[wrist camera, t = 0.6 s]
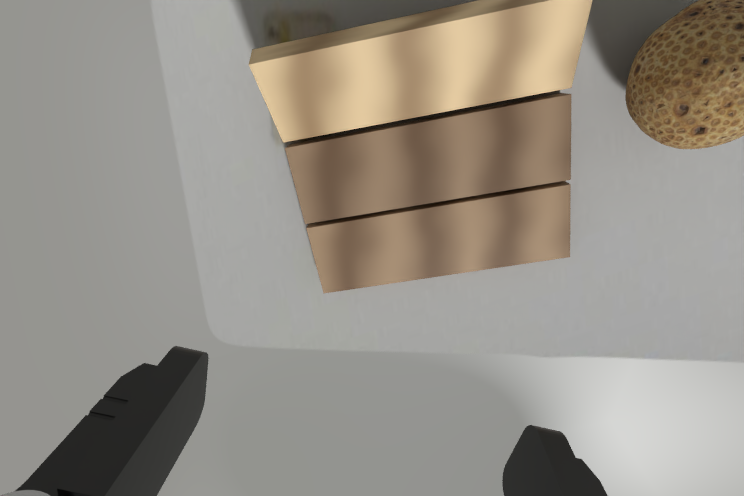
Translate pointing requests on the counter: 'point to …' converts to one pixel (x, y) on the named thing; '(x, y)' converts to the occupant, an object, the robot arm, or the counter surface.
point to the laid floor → (438, 194)
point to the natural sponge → (691, 77)
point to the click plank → (420, 64)
